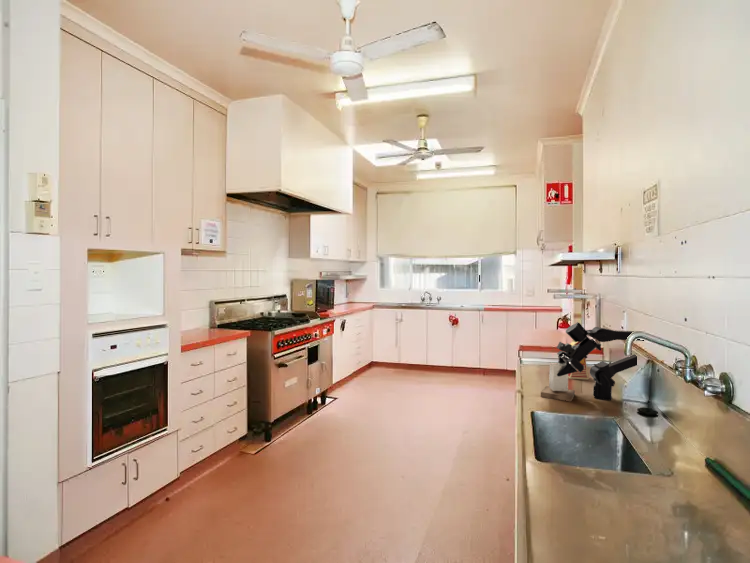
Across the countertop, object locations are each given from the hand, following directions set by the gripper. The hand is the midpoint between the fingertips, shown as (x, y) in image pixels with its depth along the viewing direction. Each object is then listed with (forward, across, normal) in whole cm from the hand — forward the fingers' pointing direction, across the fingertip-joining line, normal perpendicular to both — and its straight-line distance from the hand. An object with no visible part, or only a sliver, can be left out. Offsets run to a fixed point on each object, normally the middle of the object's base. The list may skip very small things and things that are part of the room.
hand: (555, 374), depth 192 cm
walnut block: (+6, 0, +8) cm, 9 cm away
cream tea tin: (+4, 0, +6) cm, 7 cm away
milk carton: (-8, -38, +22) cm, 45 cm away
